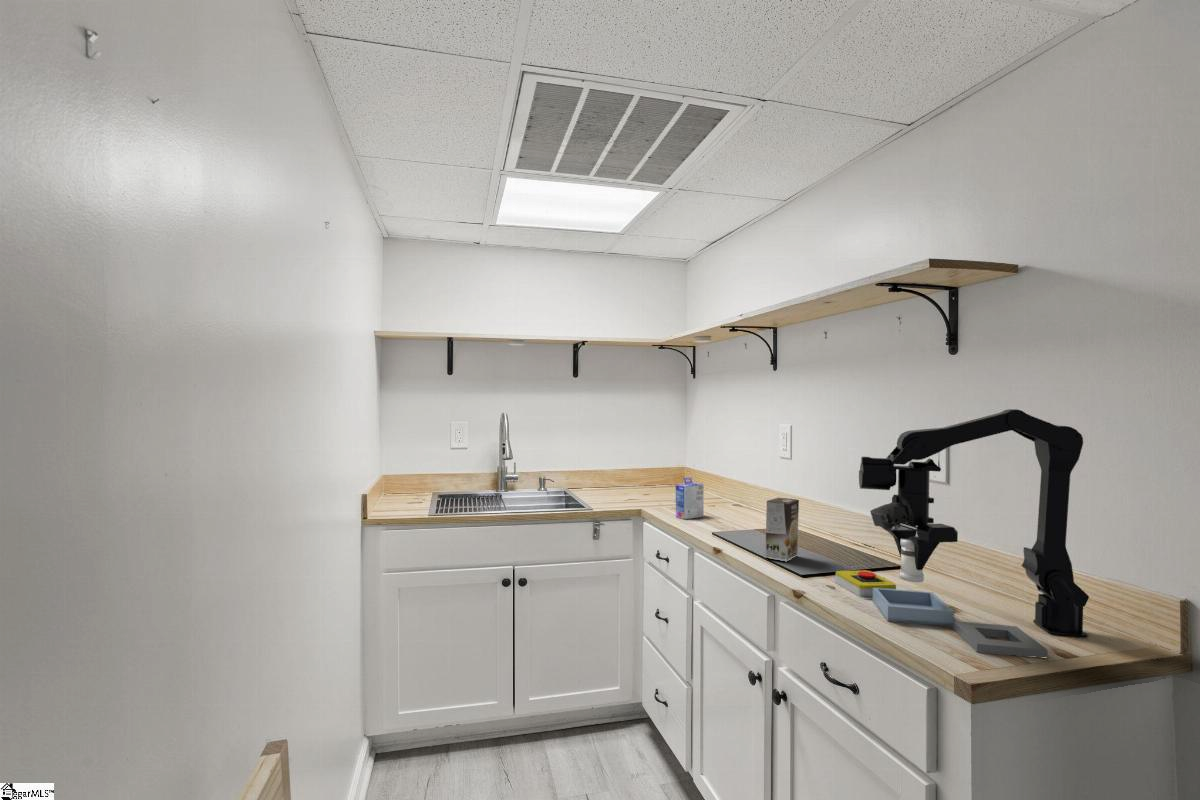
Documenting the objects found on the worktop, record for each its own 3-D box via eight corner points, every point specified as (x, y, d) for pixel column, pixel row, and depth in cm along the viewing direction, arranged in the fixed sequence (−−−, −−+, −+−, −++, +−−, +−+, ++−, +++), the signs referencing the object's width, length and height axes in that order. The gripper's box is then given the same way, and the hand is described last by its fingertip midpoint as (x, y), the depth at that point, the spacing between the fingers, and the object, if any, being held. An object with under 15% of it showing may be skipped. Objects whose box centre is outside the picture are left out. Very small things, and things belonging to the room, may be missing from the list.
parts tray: (932, 606, 128) (932, 592, 128) (953, 626, 116) (954, 611, 116) (872, 601, 130) (872, 587, 130) (887, 621, 118) (887, 606, 118)
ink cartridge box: (694, 514, 225) (694, 476, 225) (704, 517, 220) (705, 478, 220) (674, 517, 219) (675, 478, 219) (684, 519, 215) (685, 479, 214)
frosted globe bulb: (919, 576, 125) (920, 538, 125) (926, 583, 120) (927, 543, 120) (897, 575, 125) (897, 537, 125) (903, 581, 121) (904, 542, 121)
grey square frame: (1016, 634, 113) (1016, 626, 113) (1047, 658, 102) (1047, 650, 102) (952, 628, 115) (953, 620, 115) (976, 652, 104) (977, 643, 104)
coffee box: (787, 563, 159) (789, 503, 159) (764, 559, 163) (765, 500, 163) (798, 556, 167) (799, 499, 167) (775, 552, 171) (776, 496, 171)
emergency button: (864, 582, 131) (829, 563, 146) (863, 602, 131) (828, 581, 146) (902, 581, 132) (864, 562, 147) (902, 601, 132) (863, 580, 147)
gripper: (851, 485, 131) (850, 555, 131) (907, 499, 112) (906, 581, 112) (898, 484, 132) (896, 554, 133) (960, 499, 114) (959, 580, 114)
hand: (912, 566), depth 123 cm, fingers closed on frosted globe bulb, 4 cm apart
